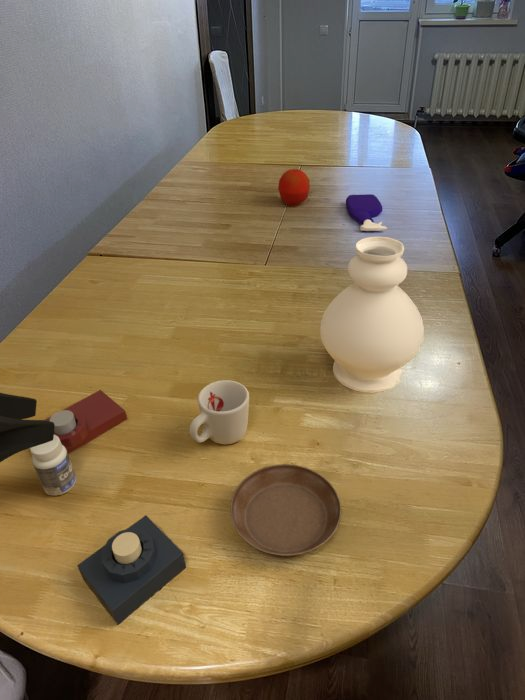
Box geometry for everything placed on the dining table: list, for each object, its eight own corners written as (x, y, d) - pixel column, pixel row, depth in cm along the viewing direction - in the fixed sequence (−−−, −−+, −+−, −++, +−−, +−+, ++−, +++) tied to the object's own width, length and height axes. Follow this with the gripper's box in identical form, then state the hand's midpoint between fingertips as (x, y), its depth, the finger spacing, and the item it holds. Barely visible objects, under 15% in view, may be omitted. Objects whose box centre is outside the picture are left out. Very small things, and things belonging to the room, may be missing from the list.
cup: (212, 469, 78) (206, 431, 73) (179, 443, 83) (172, 406, 78) (261, 431, 84) (259, 394, 79) (228, 409, 89) (224, 373, 84)
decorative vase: (339, 335, 106) (345, 218, 91) (426, 357, 99) (449, 233, 84) (303, 385, 93) (305, 259, 79) (401, 414, 86) (422, 281, 72)
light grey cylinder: (59, 438, 79) (56, 429, 78) (48, 427, 82) (45, 418, 80) (80, 426, 82) (77, 417, 80) (69, 415, 84) (66, 406, 82)
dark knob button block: (117, 625, 59) (108, 602, 57) (83, 580, 64) (73, 556, 61) (186, 567, 65) (181, 543, 62) (149, 529, 70) (143, 506, 67)
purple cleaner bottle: (344, 194, 166) (353, 225, 146) (378, 193, 165) (392, 224, 146) (343, 203, 167) (353, 235, 148) (377, 202, 167) (391, 233, 147)
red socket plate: (61, 464, 80) (54, 446, 78) (34, 435, 85) (27, 417, 83) (131, 422, 87) (127, 404, 85) (102, 398, 92) (97, 380, 90)
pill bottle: (71, 496, 75) (55, 456, 70) (39, 496, 75) (21, 456, 70) (81, 471, 79) (66, 431, 74) (50, 471, 79) (34, 431, 74)
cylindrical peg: (124, 569, 60) (121, 561, 59) (109, 552, 62) (106, 544, 61) (147, 551, 62) (144, 543, 61) (132, 535, 64) (129, 527, 63)
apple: (312, 207, 166) (313, 171, 159) (281, 210, 165) (281, 173, 158) (306, 197, 174) (306, 162, 167) (276, 199, 173) (275, 164, 166)
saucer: (278, 460, 79) (278, 447, 77) (361, 511, 71) (362, 499, 69) (209, 523, 70) (207, 511, 69) (294, 591, 62) (294, 578, 60)
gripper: (-86, 417, 47) (65, 409, 56) (-97, 370, 58) (31, 368, 67) (-89, 487, 49) (59, 469, 57) (-100, 428, 60) (26, 419, 68)
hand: (43, 418), depth 62 cm, fingers open, 7 cm apart
